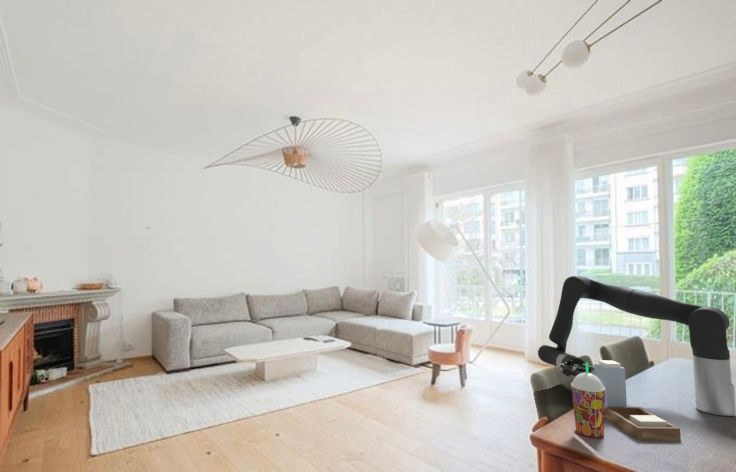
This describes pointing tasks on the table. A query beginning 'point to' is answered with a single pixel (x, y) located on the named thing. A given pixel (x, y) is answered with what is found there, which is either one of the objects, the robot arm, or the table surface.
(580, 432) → the smoothie
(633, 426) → the crate
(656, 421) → the off-white rectangular block
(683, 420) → the table surface
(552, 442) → the table surface
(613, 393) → the carton
